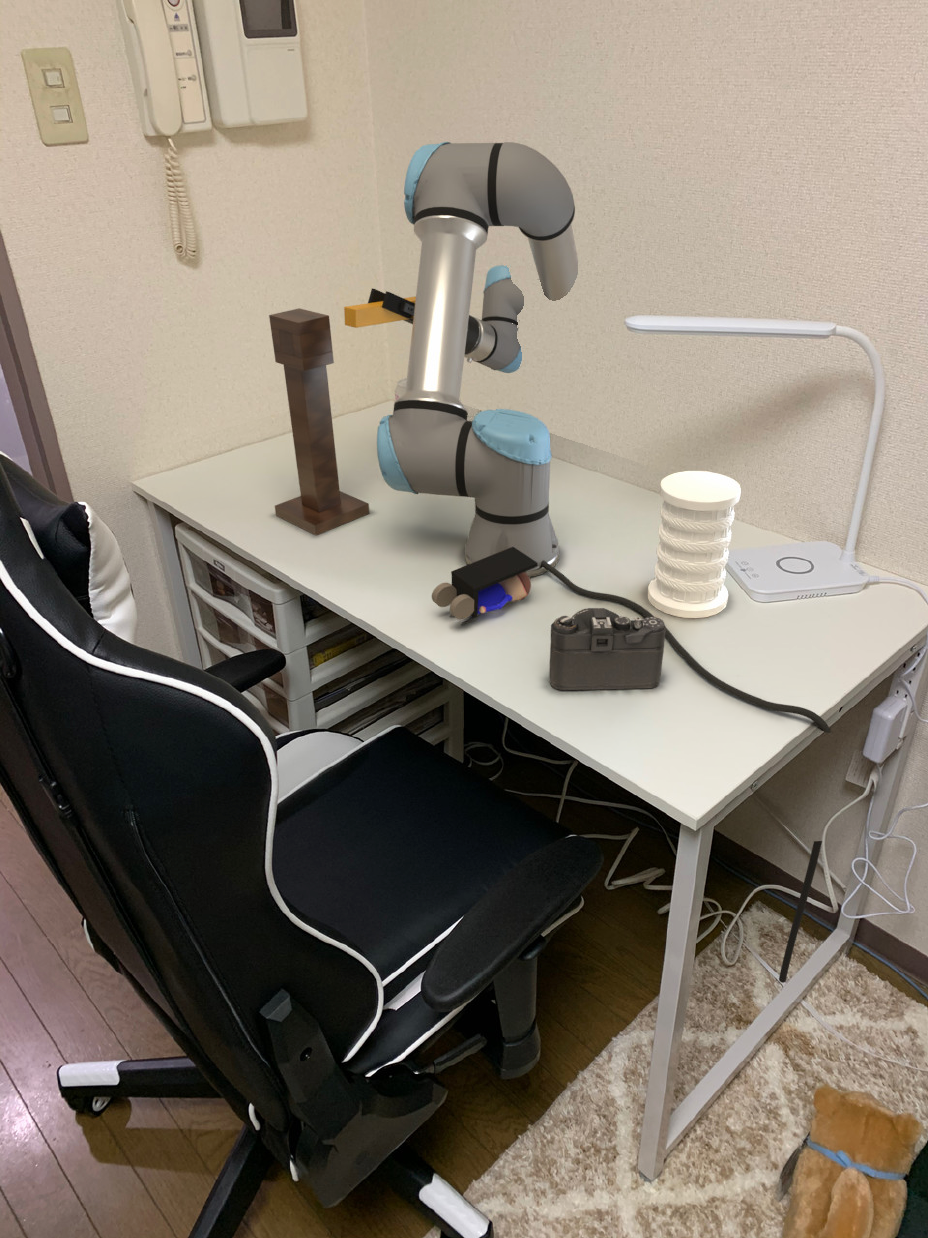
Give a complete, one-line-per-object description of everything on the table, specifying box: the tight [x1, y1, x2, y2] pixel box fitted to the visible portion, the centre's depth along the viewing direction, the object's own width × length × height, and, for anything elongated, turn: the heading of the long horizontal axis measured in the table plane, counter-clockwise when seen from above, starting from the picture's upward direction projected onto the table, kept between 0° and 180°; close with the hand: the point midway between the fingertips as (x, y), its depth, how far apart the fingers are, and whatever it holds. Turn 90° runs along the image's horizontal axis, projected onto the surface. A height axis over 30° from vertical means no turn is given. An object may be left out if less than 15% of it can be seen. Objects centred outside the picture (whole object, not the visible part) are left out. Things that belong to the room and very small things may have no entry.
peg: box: [343, 295, 416, 329], centre depth 156 cm, size 18×3×3 cm, turn 135°
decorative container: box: [647, 470, 742, 619], centre depth 129 cm, size 12×12×18 cm
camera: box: [548, 607, 667, 691], centre depth 116 cm, size 14×11×10 cm
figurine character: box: [431, 547, 538, 626], centre depth 131 cm, size 7×8×15 cm
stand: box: [268, 308, 370, 536], centre depth 153 cm, size 12×12×35 cm
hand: (378, 297), depth 153 cm, fingers closed on peg, 3 cm apart
